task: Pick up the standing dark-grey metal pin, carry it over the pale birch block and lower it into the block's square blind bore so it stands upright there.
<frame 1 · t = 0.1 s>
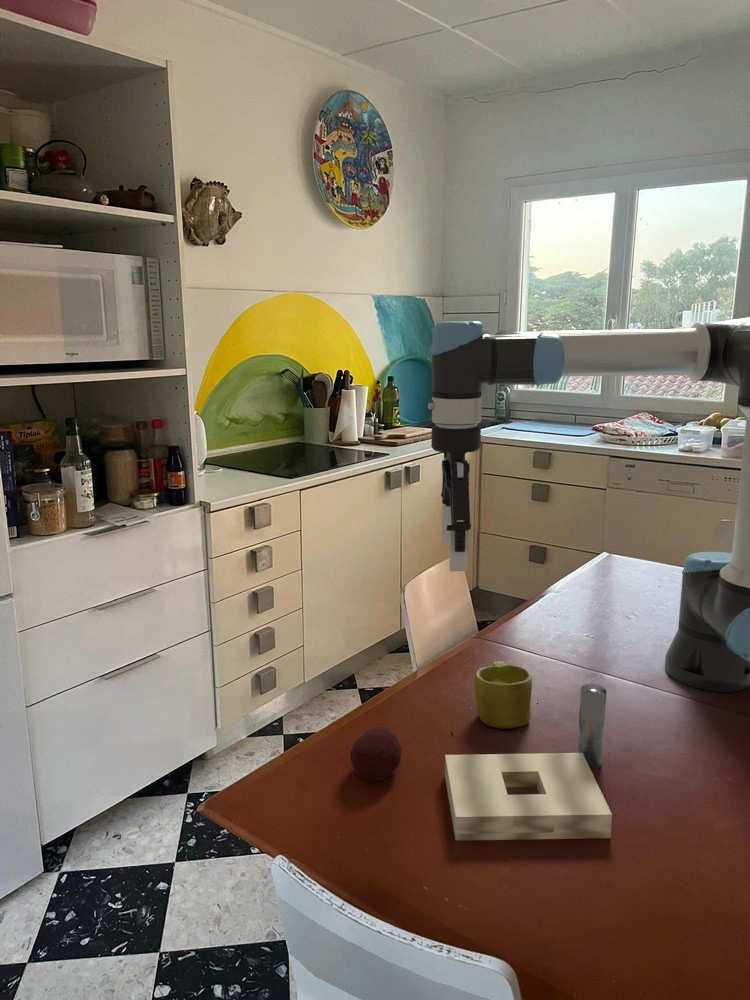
hand: (454, 556, 123), 28 cm above the table, fingers open, 13 cm apart
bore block: (522, 805, 106), on the table
pin: (589, 762, 115), on the table
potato: (377, 771, 114), on the table
mug: (502, 714, 130), on the table
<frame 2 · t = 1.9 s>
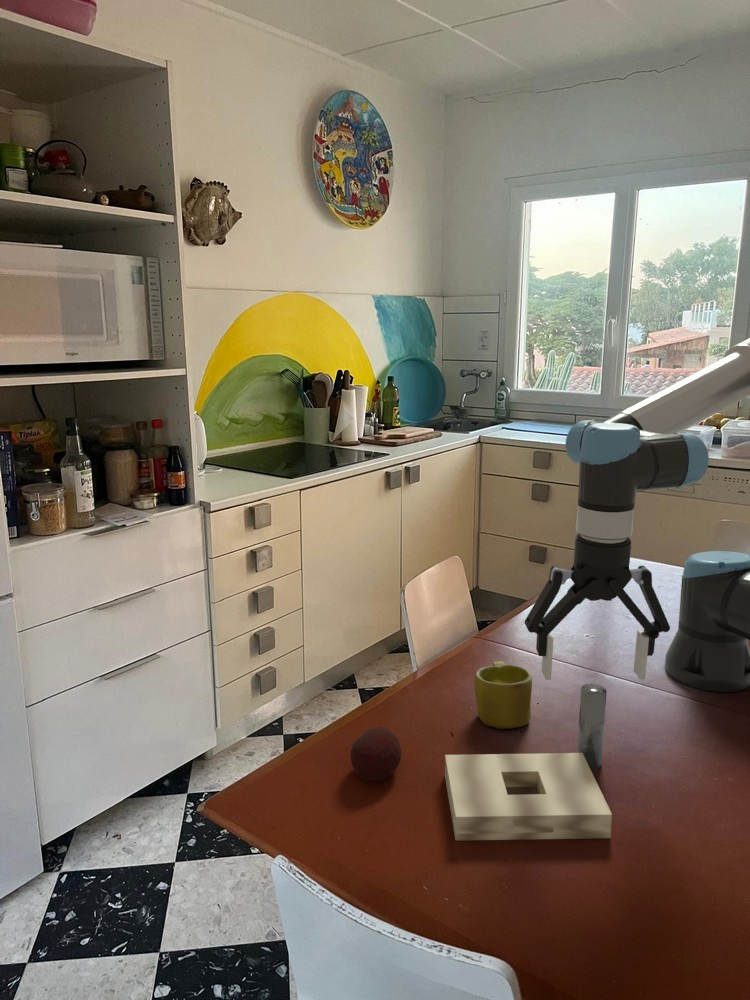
hand: (592, 675, 112), 14 cm above the table, fingers open, 13 cm apart
nothing on the table moved.
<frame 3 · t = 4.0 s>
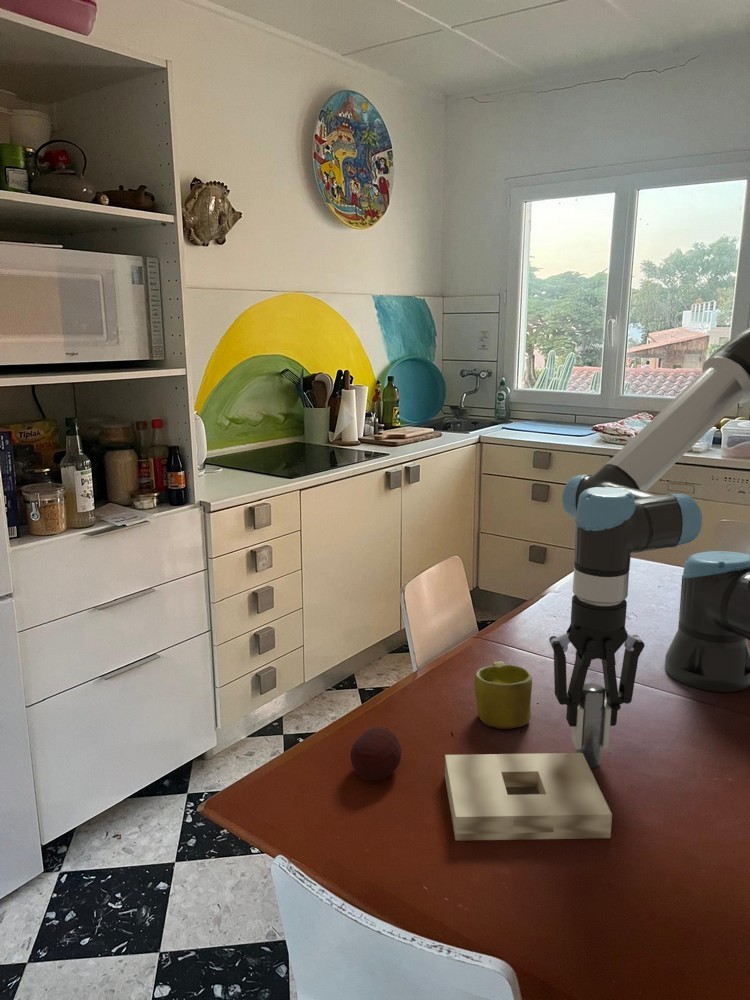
hand: (589, 743, 115), 3 cm above the table, fingers closed on pin, 3 cm apart
pin: (587, 761, 115), on the table, touching gripper
everything else where it was.
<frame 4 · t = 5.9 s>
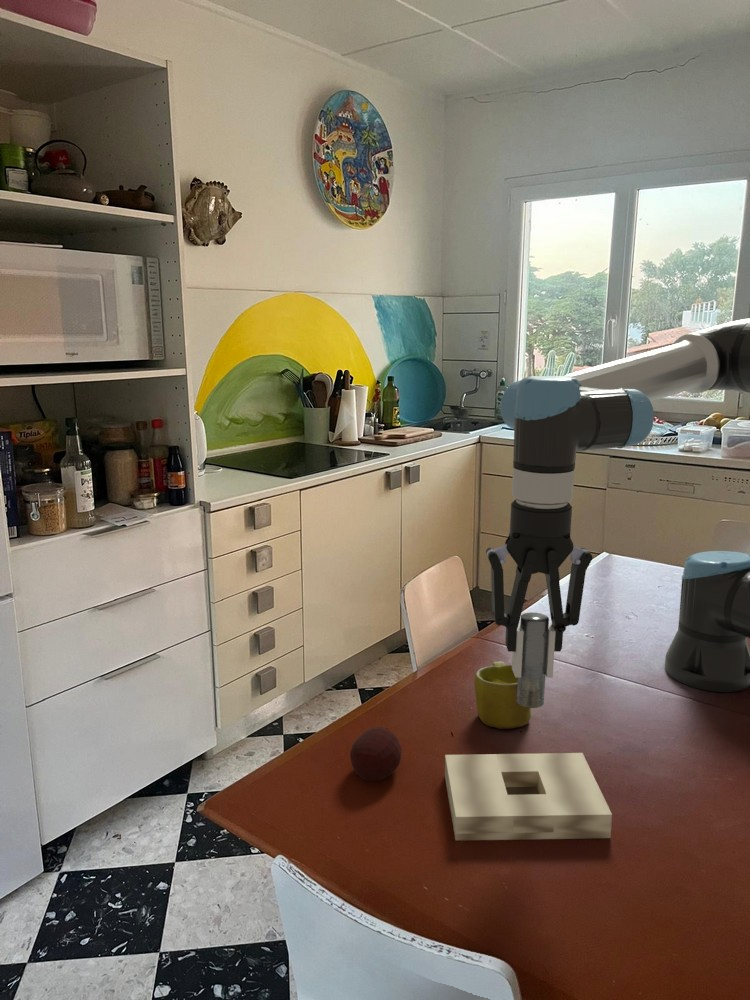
hand: (531, 672, 102), 20 cm above the table, fingers closed on pin, 3 cm apart
pin: (530, 701, 103), point 15 cm above the table, touching gripper
everything else where it was.
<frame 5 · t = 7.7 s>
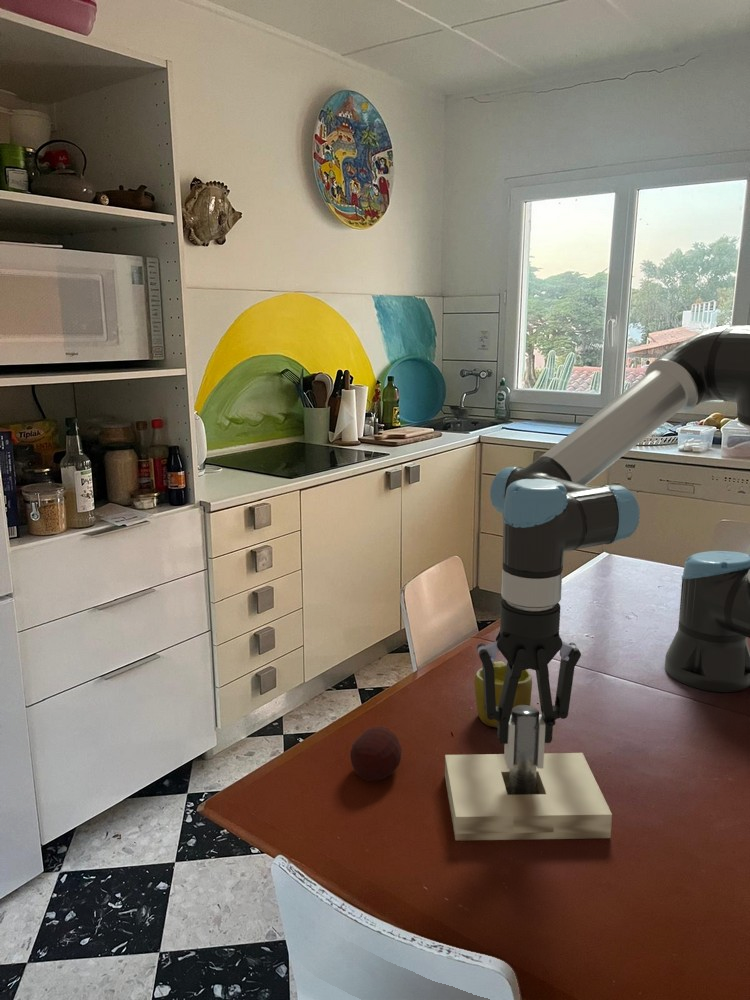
hand: (523, 762, 104), 7 cm above the table, fingers closed on pin, 3 cm apart
pin: (521, 790, 105), point 2 cm above the table, touching gripper
everything else where it was.
when the fingers open (5 cm above the table, at t = 8.3 s): pin stays where it is, resting on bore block.
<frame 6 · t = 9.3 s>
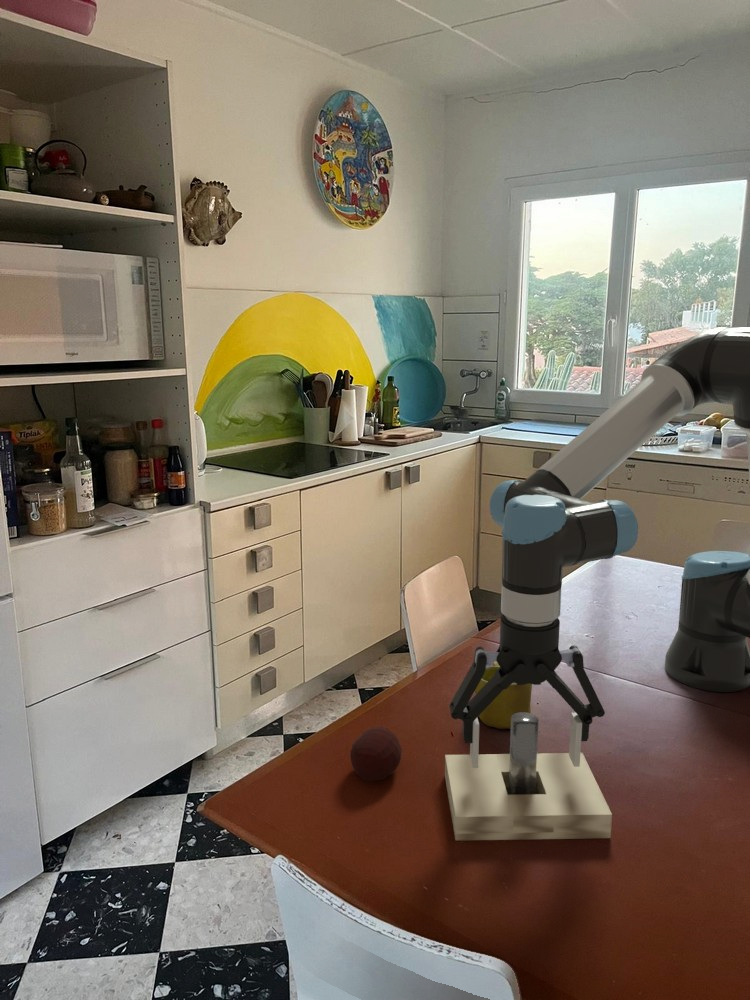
hand: (524, 761, 104), 7 cm above the table, fingers open, 13 cm apart
pin: (521, 797, 105), point 1 cm above the table, touching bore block
everything else where it was.
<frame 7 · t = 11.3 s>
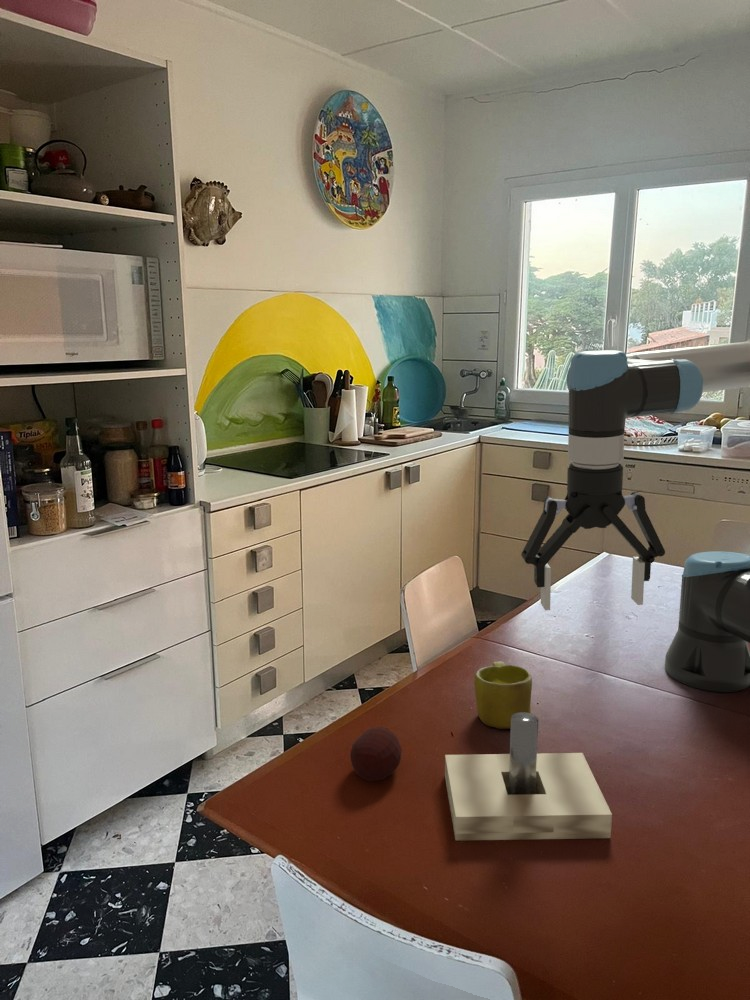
hand: (591, 604, 113), 24 cm above the table, fingers open, 13 cm apart
nothing on the table moved.
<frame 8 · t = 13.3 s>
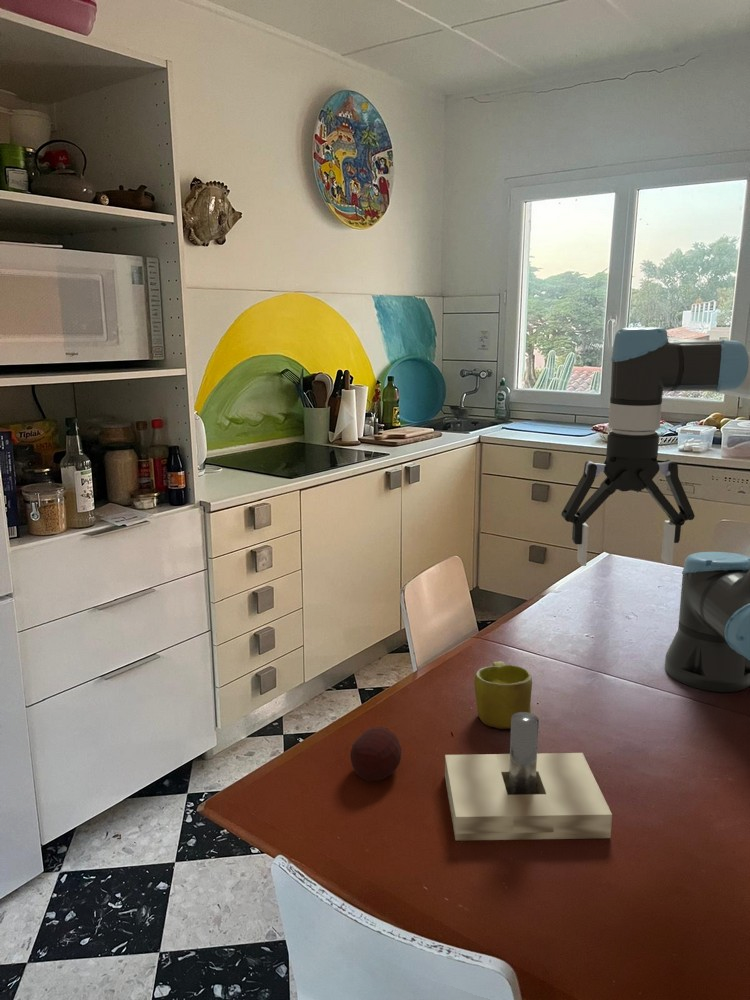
hand: (623, 562, 122), 27 cm above the table, fingers open, 13 cm apart
nothing on the table moved.
at the end: pin 0.1 cm off-centre on the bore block, point 1.1 cm above the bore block's base; pin tilted 0°; the gripper is holding nothing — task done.
